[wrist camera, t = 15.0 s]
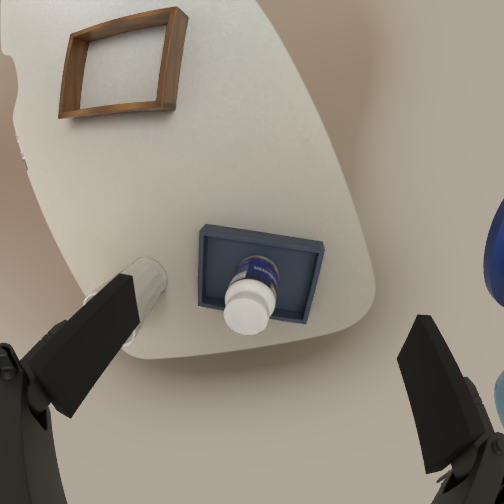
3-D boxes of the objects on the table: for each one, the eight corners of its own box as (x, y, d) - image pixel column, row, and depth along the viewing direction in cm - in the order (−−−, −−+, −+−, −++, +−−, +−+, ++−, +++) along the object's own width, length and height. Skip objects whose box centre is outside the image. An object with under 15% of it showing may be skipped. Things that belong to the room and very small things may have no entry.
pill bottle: (288, 275, 36) (285, 321, 27) (257, 299, 39) (246, 347, 30) (258, 245, 35) (245, 284, 26) (227, 271, 38) (207, 314, 28)
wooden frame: (188, 17, 25) (177, 6, 21) (175, 109, 30) (161, 107, 27) (86, 38, 26) (70, 34, 23) (75, 117, 32) (58, 118, 28)
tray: (322, 241, 35) (324, 249, 32) (305, 313, 39) (306, 324, 37) (205, 223, 36) (199, 230, 34) (203, 296, 41) (197, 305, 38)
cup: (119, 269, 41) (75, 310, 30) (146, 242, 38) (99, 281, 27) (152, 305, 43) (116, 353, 32) (182, 282, 40) (147, 332, 29)
